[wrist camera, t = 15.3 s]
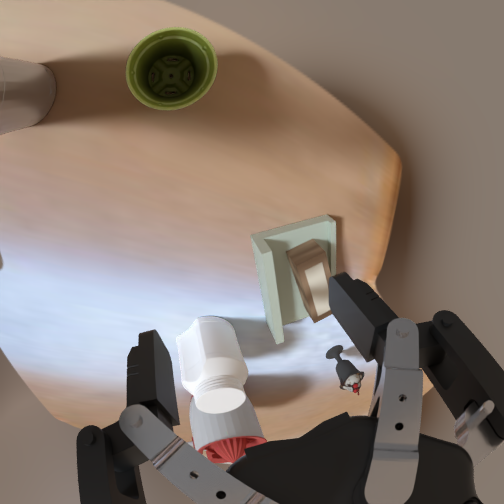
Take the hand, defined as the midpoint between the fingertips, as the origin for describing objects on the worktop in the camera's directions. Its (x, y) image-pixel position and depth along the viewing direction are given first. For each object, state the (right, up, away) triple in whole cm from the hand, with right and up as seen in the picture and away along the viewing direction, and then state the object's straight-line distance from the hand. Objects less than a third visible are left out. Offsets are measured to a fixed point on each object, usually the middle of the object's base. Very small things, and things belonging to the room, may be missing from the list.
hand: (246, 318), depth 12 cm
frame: (+10, -1, +38) cm, 39 cm away
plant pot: (-10, +25, +18) cm, 33 cm away
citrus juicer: (-9, -31, +52) cm, 61 cm away
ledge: (+8, -1, +39) cm, 40 cm away
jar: (-9, -14, +42) cm, 44 cm away
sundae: (+21, -23, +56) cm, 64 cm away
